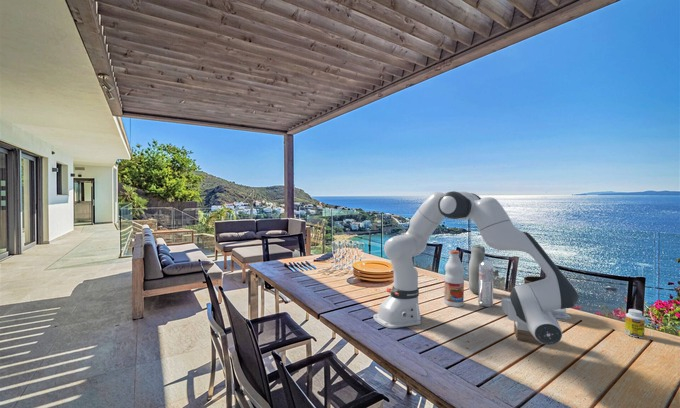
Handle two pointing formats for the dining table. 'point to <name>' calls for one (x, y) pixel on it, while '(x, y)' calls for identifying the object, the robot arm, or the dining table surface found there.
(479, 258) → the grey thermos flask
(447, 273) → the fruit juice
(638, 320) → the supplement bottle
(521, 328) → the block top
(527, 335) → the block bottom
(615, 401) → the dining table surface
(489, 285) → the water bottle
